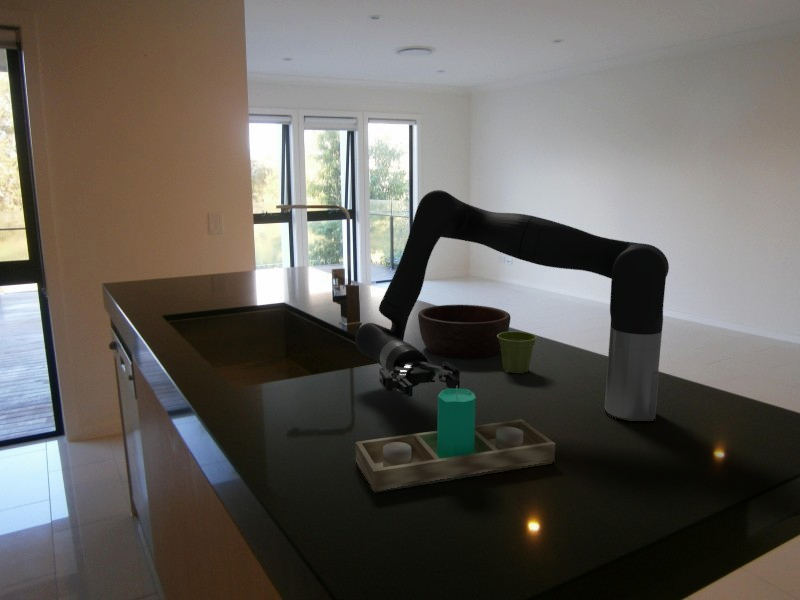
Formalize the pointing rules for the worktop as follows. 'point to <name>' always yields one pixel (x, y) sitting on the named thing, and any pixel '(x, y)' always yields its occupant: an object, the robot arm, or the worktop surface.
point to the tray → (419, 462)
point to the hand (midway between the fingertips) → (434, 388)
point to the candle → (455, 423)
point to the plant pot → (516, 350)
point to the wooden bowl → (463, 330)
